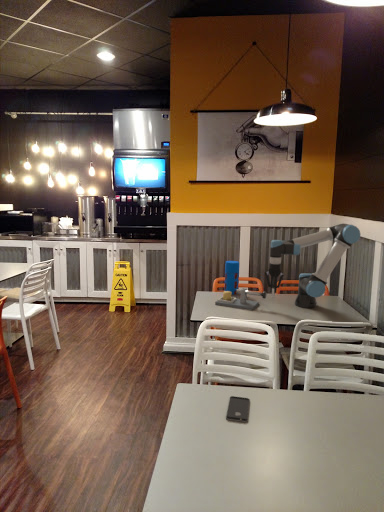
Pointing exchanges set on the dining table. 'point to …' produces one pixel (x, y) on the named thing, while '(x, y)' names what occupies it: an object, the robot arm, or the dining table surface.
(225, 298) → the spacer collar
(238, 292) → the retaining shaft
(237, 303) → the keeper base
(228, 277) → the thermos
